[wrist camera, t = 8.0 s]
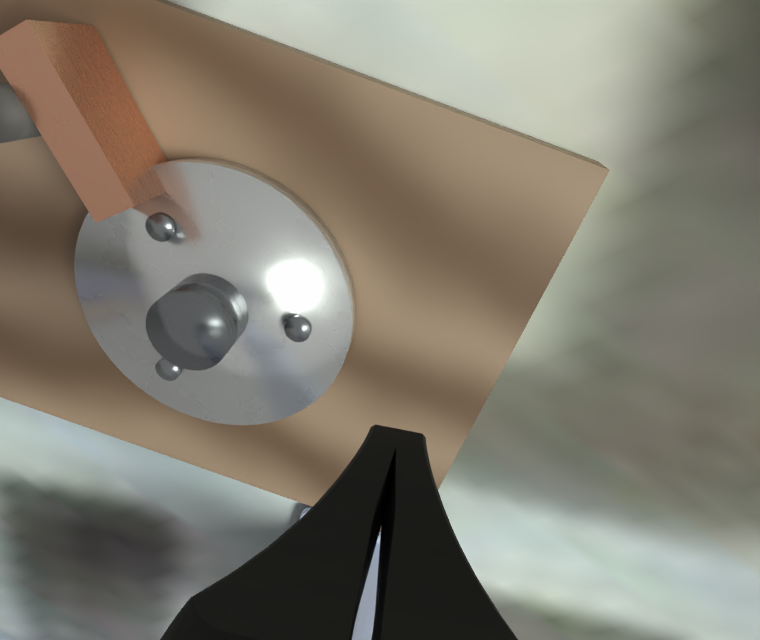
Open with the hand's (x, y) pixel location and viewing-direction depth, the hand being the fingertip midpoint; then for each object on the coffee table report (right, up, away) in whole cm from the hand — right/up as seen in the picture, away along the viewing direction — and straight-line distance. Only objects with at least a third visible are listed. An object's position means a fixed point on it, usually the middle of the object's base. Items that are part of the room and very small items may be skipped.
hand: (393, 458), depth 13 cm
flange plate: (-8, +6, +7) cm, 12 cm away
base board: (-7, +5, +9) cm, 12 cm away
